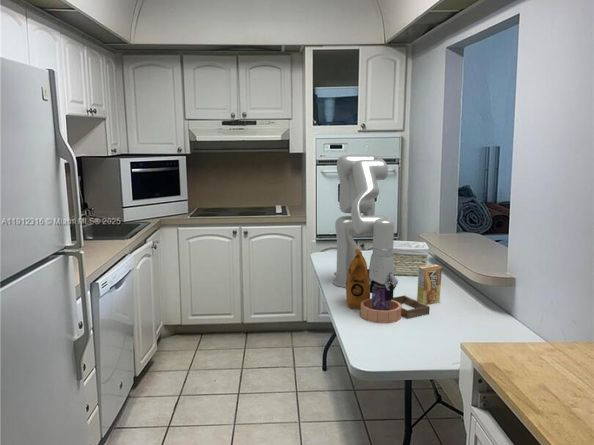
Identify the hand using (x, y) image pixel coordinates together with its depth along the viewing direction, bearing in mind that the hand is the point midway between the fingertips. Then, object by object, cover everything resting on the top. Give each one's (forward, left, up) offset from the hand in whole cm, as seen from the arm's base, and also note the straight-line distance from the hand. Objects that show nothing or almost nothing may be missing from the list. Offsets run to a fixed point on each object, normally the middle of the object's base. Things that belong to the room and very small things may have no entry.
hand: (381, 296), depth 188 cm
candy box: (-3, +27, -8) cm, 28 cm away
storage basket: (-44, +47, -8) cm, 65 cm away
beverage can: (0, 0, -7) cm, 7 cm away
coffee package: (-15, 0, -8) cm, 17 cm away
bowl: (0, 0, -8) cm, 8 cm away
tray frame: (0, +13, -8) cm, 15 cm away
